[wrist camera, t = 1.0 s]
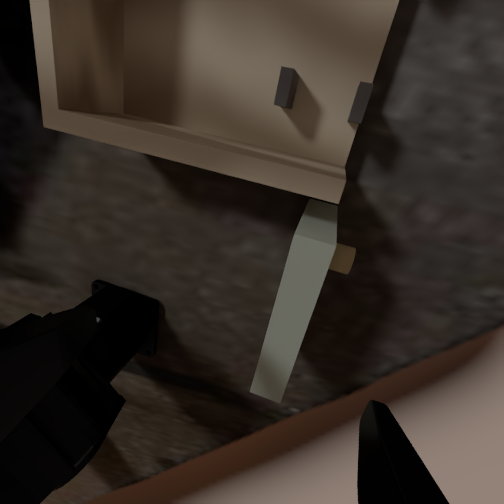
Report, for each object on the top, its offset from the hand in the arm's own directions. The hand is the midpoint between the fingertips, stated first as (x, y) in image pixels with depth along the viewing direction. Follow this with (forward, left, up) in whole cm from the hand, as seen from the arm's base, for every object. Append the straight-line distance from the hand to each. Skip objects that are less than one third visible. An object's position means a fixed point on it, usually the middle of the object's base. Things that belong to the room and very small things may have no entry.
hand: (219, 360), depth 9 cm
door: (-2, -2, -12) cm, 13 cm away
